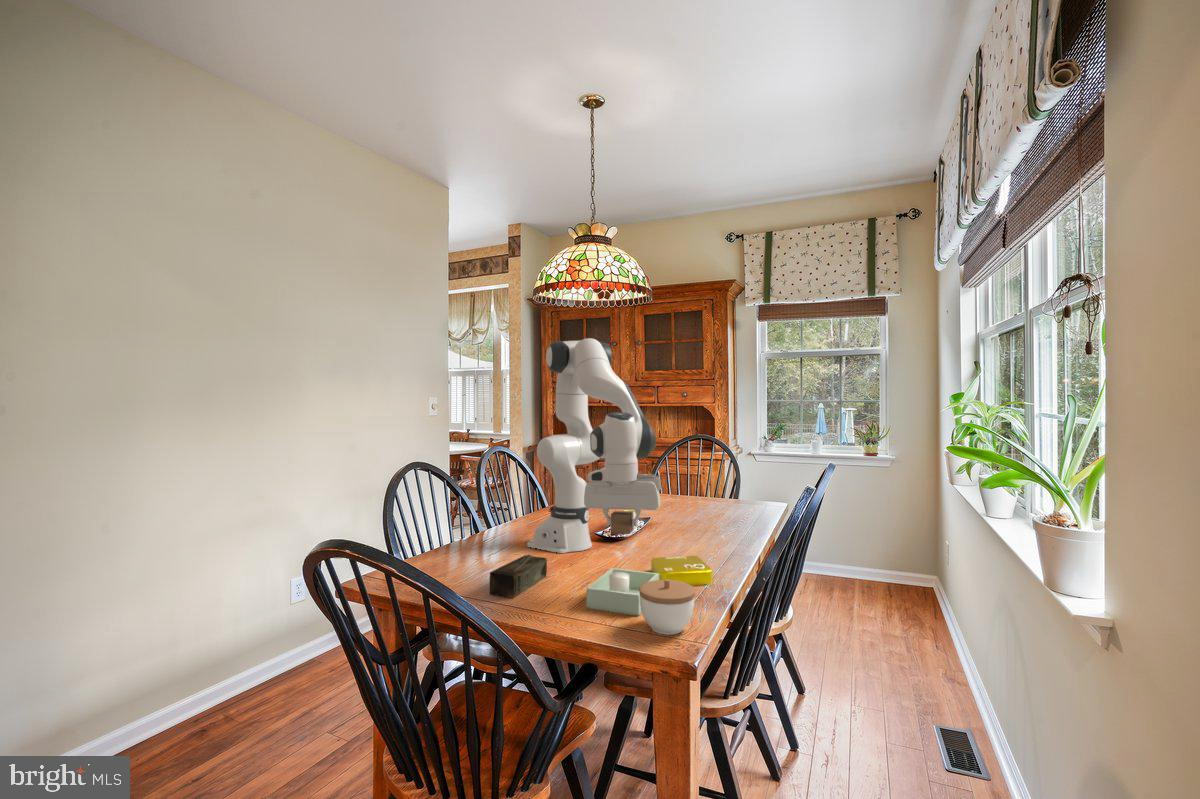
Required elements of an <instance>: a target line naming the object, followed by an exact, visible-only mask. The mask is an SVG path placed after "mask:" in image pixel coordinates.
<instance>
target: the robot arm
mask: <svg viewBox="0 0 1200 799" xmlns="http://www.w3.org/2000/svg"><path fill="white" fill-rule="evenodd" d="M545 361H546V365H547V368H548V369H549V370H550V371H551V372H553V373H557V377H556V384H555V416H556V418H557V419H558V420H559V421H560V422H562V423H564V425H565V427H566V431H567V433H563V434H553V435H550V436H547V437H544V438H541V440H540V441H539V442H538V444H537V447H536V457H537V459H538V461H539V462H540V464H541V465H542V466H544V467H545V468H546V469H547V470H548V472H549V473H550V475H551V477H552V481H553V485H554V499H555V500H554V502H555V503H554V505H553V506H551V507H549V508H548V512H549V513H550V516H548V517H547V518H546V519H545V520H544V521H542V522H541V523H539V524H538V525H537V526H536V528H535V530H534V534H533V538H531V539H530V540H529V541H528V542H527V543H526V547H527V548H530V547H531V549H535V548H537V549H536V550H540V549H541V550H540V551H545V550H546V551H547V552H552V553H556V552H557V554H565V553H571V552H580V551H585V550H589V549H591V548H592V547H593V543H592V540H591V534H590V530H589V517H590V515H589V514H590V512H589V509H597V510H598V509H602V514H603V515H604V517H605V518H606V521H607V522H606V525H607V526H610V527H611V514H609V513H610V510H632V511H633V510H634V514H636V515H635V517H634V518H633V519H631V526H633V528H634V527H638V525H639V524H638V521H639V518H640V516H641V514H642V513H643V512H642V511H657V510H658V509H659V508H660V507H661V496H660V490H661V487H662V486H661V482H662V481H661V478H660V477H659V476H657V475H655V473H654V474H653V473H649V474H646V473H639V465H638V464H639V463H638V462H639V461H638V459H646V458H647V457H649V456H650V455H651V454H652V453H653V451H654V450H655V448H656V446H657V438H656V432H655V431H654V428H653V427H652V425H651V424H650V423H649V422H648V421H647V419H646V417H645V416H644V414H643V412H642V409H641V407H640V405H639V403H638V401H637V399H636V397H635V396H634V394H633V392H632V390H631V388H630V387H629V385H628V383H627V382H626V381H624V380H622V379H621V378H620V377H619V376H618V375H617V374H616V373H615V371H614V370H613V369H612V367H611V366H612V364H613V351H612V348H611V346H610V345H609V343H606V342H603V341H598V340H597V339H595V338H591V337H589V338H584V339H580V340H564V341H563V340H557V341H552V342H551V343H550V344H549V345H548V346H547V350H546V354H545ZM589 397H590V398H593V399H596V400H602V401H605V402H608V403H610V404H613V405H615V406H617V407H618V408H619V409H620V410H621V411H615V412H614V411H613V412H610V413H607V414H606V415H605V418H604V422H603V423H601V424H599V425H597V426H595V427H594V428H593V427H592V424H591V422H590V419H589ZM600 459H604V467H600V468H598V469H596V470H595V469H594V470H593V471H591V472H589V473H588V474H587V481H588V482H587V481H586V480H584V479H583V478H582V477H581V476H578V474H577V470H576V466H580V465H589V464H590V463H594V462H595V461H599V460H600Z"/></svg>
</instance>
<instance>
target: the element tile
mask: <svg viewBox="0 0 1200 799" xmlns="http://www.w3.org/2000/svg"><path fill="white" fill-rule="evenodd" d="M650 571H651V572H650V573H658V574H659V580H666V579H667V580H675V581H680V582H684V583H687V584H689V585H697V586H707V585H706V584H710V585H712V584H713V569H712V568H711V566H709V565H708V564H707V563H706V562H705V561H704V560H703V559H702V558H701V557H699V556H698V555H688V556H687V555H686V556H666V557H665V556H664V557H663V556H662V557H653V558H651V560H650ZM711 583H712V584H711ZM704 584H705V585H704Z"/></svg>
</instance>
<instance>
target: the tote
mask: <svg viewBox="0 0 1200 799" xmlns="http://www.w3.org/2000/svg"><path fill="white" fill-rule="evenodd" d="M615 572H622V573H626V574H628V575H629V593H626V592H618V591H611V590H609V578H610V574H611V573H615ZM655 580H659V574H658V573H651V572H650V571H641V570H640V571H639V570H634V569H633V570H632V569H626V568H625V569H624V568H616V567H611V568H610V569H608V570H607V571H606V572H605V573H604V574H602V575H601V576H599V578H597V579H596V580H595V581H594V582H593V583H591V584H590V585H589V586H587V587H586V609H588V608H589V610H595V609H596V611H603V612H608V611H609V613H615V614H616V613H617V614H622V615H629V616H635V617H639V616H640V615H642V611H641V605H640V593H639V588H640V586H641V585H642V584H644V583H646V582H650V581H655Z"/></svg>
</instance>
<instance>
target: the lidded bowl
mask: <svg viewBox="0 0 1200 799" xmlns="http://www.w3.org/2000/svg"><path fill="white" fill-rule="evenodd" d="M695 590H696V589H695V588H694V587H693V586H691V585H689V584H687V583H684V582H680V581H675V580H667V579H666V580H655V581H650V582H646V583H644V584H642V585H641V586H640V588H639V593H640V605H641V611H642V613H641V615H642V617H643V620H645V623H646V624H647V625H648V626H649V627H651V628H650V629H651V630H652V631H653V632H654V633H655V634H656V633H657V634H660V635H665V636H666V635H667V636H671V635H677V634H679V633H681V632H683V630H684V629H685V628H686V627H687V626H688V625H689V623H690V621H691V619H692V617H693V614H694V610H695V609H694V608H695V596H696V591H695Z"/></svg>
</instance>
